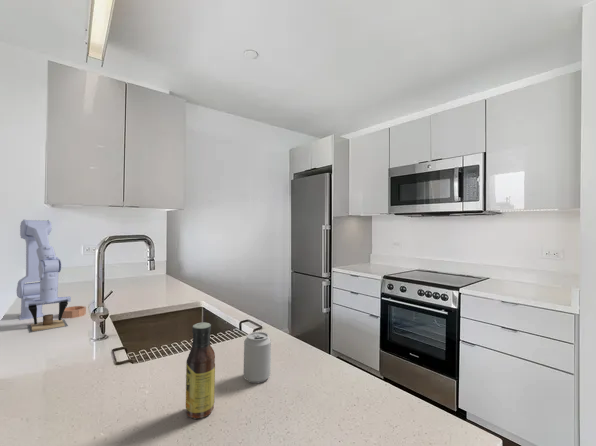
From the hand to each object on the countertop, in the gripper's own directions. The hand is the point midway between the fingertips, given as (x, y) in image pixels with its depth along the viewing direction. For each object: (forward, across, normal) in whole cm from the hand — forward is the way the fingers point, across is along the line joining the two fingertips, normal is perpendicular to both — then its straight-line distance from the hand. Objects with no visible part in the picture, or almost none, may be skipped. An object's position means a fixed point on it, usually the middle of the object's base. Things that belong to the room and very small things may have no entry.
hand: (47, 321), depth 123 cm
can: (+2, +38, -92) cm, 100 cm away
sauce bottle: (+2, +19, -96) cm, 98 cm away
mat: (+2, 0, 0) cm, 2 cm away
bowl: (+2, +10, +11) cm, 15 cm away
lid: (+2, 0, 0) cm, 2 cm away
